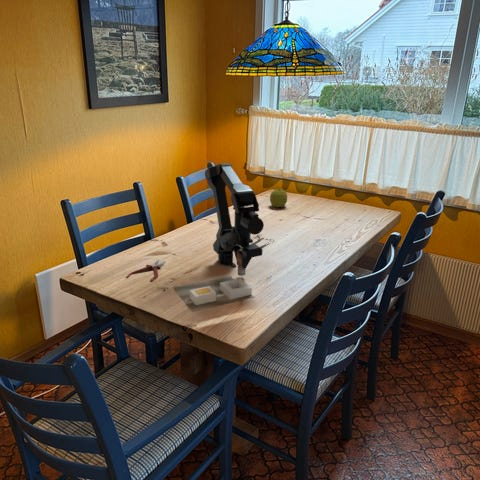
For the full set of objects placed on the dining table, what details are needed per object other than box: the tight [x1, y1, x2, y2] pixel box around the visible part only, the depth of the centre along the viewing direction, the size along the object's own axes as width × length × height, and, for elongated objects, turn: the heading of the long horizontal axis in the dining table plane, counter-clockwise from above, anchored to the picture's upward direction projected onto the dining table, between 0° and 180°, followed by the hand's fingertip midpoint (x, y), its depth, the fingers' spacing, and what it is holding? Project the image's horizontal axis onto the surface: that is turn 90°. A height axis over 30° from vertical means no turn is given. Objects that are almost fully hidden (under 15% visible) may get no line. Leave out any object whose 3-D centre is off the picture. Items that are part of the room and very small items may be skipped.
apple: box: [269, 188, 288, 208], centre depth 247 cm, size 10×10×11 cm
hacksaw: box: [249, 234, 275, 249], centre depth 195 cm, size 24×10×2 cm, turn 145°
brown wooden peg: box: [236, 249, 247, 277], centre depth 157 cm, size 4×4×9 cm
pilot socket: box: [220, 277, 253, 299], centre depth 149 cm, size 8×8×2 cm
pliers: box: [125, 259, 166, 283], centre depth 165 cm, size 12×20×3 cm, turn 165°
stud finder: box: [190, 286, 216, 305], centre depth 143 cm, size 5×7×3 cm
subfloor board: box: [172, 275, 255, 313], centre depth 149 cm, size 18×22×2 cm
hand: (241, 266), depth 158 cm, fingers closed on brown wooden peg, 4 cm apart
